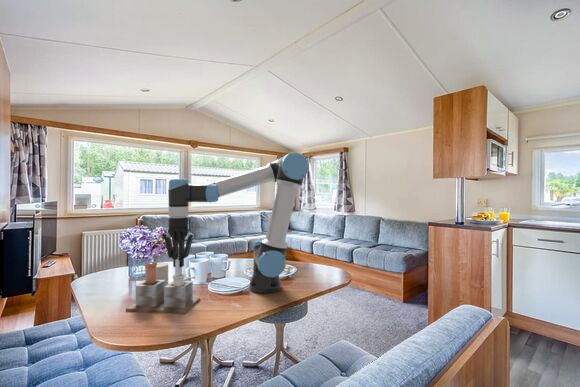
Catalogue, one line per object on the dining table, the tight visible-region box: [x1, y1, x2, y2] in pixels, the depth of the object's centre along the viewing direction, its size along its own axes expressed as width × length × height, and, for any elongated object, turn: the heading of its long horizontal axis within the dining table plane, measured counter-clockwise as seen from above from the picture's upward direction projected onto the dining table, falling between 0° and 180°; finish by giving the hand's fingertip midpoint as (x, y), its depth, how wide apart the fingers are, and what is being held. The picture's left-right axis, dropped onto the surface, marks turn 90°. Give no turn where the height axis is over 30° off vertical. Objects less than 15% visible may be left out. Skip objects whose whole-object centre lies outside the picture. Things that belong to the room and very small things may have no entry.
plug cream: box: [172, 273, 186, 286], centre depth 117 cm, size 5×5×10 cm
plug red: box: [144, 261, 158, 285], centre depth 118 cm, size 5×5×10 cm
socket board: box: [125, 280, 201, 315], centre depth 118 cm, size 24×14×9 cm, turn 84°
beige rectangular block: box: [156, 262, 169, 286], centre depth 135 cm, size 8×8×12 cm
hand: (178, 274), depth 117 cm, fingers closed
